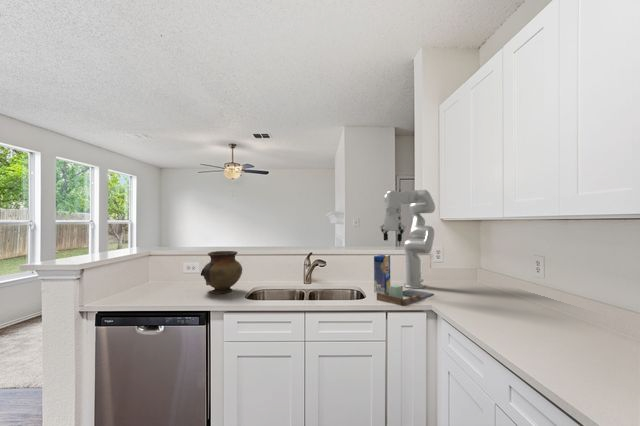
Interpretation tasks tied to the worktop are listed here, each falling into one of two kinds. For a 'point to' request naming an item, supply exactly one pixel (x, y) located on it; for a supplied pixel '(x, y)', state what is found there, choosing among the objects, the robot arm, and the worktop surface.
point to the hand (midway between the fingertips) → (392, 240)
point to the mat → (416, 293)
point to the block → (396, 291)
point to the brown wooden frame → (397, 299)
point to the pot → (222, 271)
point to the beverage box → (381, 273)
